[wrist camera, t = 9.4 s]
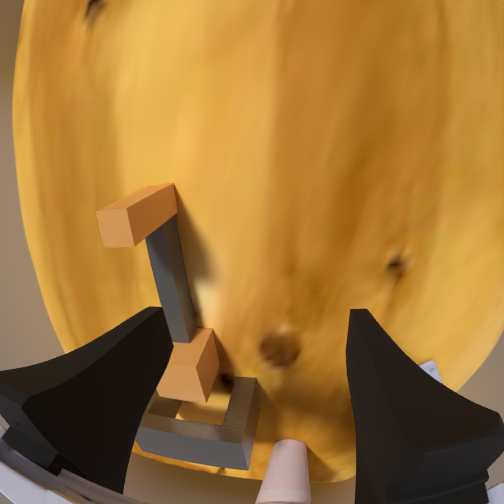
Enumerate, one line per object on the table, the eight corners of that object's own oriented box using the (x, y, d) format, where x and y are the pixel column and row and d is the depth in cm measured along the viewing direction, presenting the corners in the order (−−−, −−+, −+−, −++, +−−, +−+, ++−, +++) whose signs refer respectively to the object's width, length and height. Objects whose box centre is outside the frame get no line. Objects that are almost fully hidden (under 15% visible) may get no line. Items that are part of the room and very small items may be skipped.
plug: (220, 364, 25) (201, 418, 20) (177, 360, 26) (153, 409, 20) (187, 181, 19) (143, 206, 14) (135, 187, 20) (82, 213, 14)
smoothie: (252, 438, 29) (228, 547, 17) (306, 428, 27) (295, 550, 15) (276, 461, 31) (260, 557, 19) (325, 453, 29) (319, 557, 17)
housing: (259, 411, 27) (248, 470, 21) (166, 400, 29) (142, 451, 22) (255, 378, 25) (241, 443, 19) (153, 368, 27) (123, 421, 20)
